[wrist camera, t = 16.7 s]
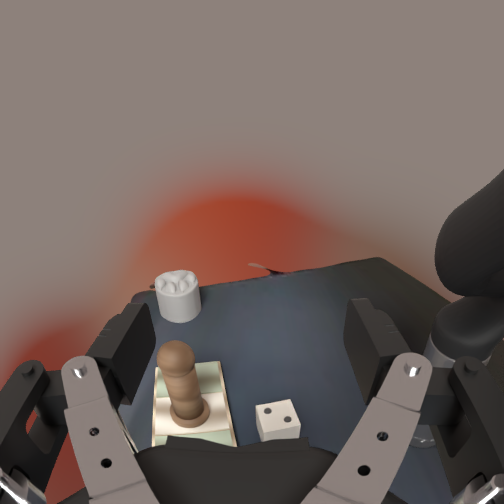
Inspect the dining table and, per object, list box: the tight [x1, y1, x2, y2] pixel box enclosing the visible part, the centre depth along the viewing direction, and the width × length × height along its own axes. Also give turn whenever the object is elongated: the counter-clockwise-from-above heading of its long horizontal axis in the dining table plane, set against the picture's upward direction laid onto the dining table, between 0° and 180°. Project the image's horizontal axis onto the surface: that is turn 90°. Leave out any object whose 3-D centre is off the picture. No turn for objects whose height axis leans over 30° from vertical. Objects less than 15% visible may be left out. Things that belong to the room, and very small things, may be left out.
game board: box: [152, 361, 237, 447], centre depth 37 cm, size 32×12×2 cm, turn 11°
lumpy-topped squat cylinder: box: [155, 270, 201, 323], centre depth 71 cm, size 10×13×9 cm
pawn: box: [157, 340, 210, 428], centre depth 38 cm, size 6×6×14 cm
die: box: [256, 399, 301, 442], centre depth 37 cm, size 5×5×5 cm
